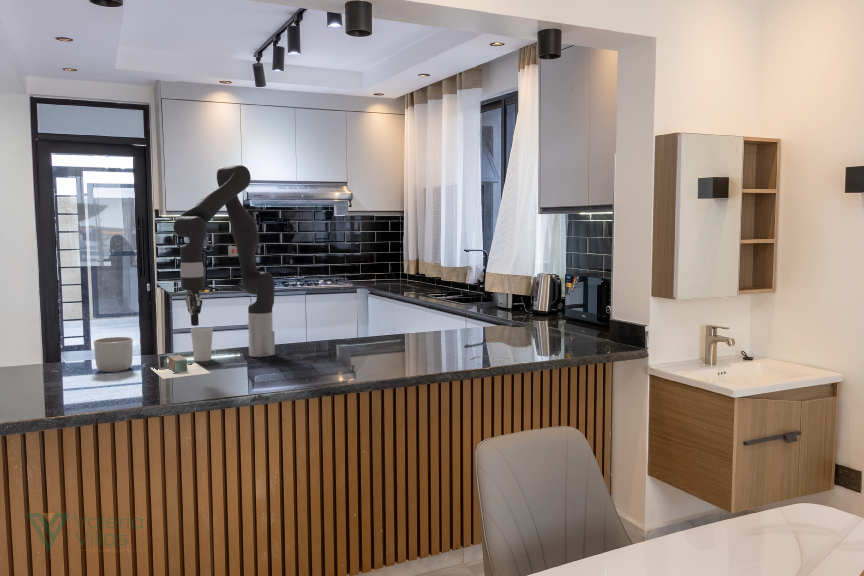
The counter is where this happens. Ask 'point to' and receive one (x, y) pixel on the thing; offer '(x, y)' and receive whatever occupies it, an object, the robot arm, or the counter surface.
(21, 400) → the counter surface
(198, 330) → the cup
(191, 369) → the cream flat rectangular panel
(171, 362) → the walnut block
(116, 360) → the planter
